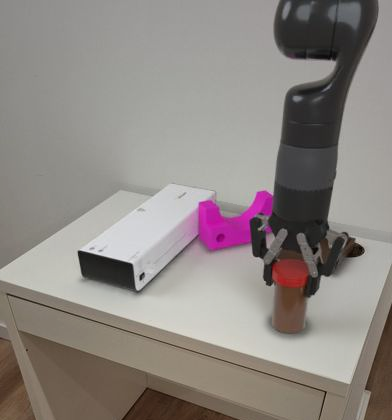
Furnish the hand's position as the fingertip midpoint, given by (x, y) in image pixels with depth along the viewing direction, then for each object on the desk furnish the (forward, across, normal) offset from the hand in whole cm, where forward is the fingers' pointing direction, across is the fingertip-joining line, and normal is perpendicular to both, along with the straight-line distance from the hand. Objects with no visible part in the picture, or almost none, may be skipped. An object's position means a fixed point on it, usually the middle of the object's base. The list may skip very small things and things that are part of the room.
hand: (289, 289), depth 72 cm
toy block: (+6, -20, +23) cm, 31 cm away
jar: (+6, 0, 0) cm, 6 cm away
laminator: (+6, -32, +10) cm, 34 cm away
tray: (+6, -5, +24) cm, 26 cm away
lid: (-3, 0, 0) cm, 3 cm away
